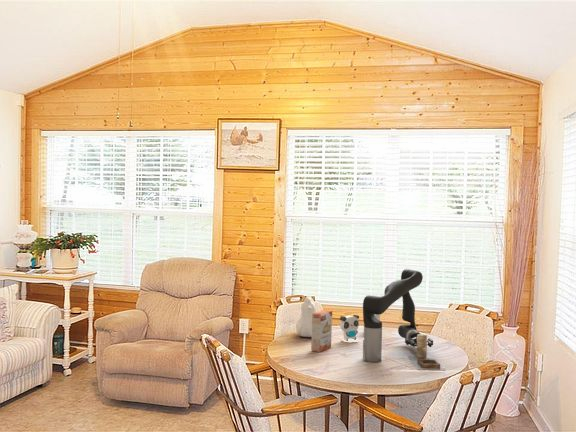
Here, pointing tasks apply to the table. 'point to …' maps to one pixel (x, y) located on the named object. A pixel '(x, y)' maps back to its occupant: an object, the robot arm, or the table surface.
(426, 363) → the socket collar
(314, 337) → the cracker box
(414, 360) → the board
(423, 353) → the maple pillar
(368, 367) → the table surface
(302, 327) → the decorative rooster
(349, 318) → the panda figurine
